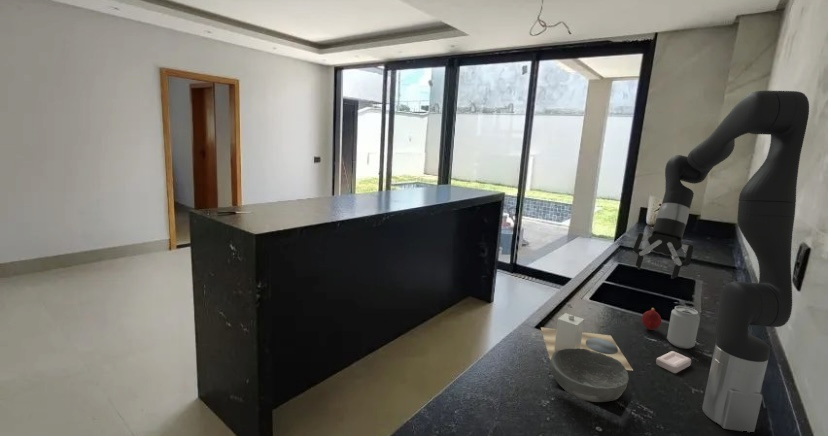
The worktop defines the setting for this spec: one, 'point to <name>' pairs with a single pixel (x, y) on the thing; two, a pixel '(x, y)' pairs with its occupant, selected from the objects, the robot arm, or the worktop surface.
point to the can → (683, 327)
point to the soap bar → (673, 362)
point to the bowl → (589, 374)
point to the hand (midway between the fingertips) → (655, 273)
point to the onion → (651, 319)
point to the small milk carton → (568, 332)
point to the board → (589, 345)
